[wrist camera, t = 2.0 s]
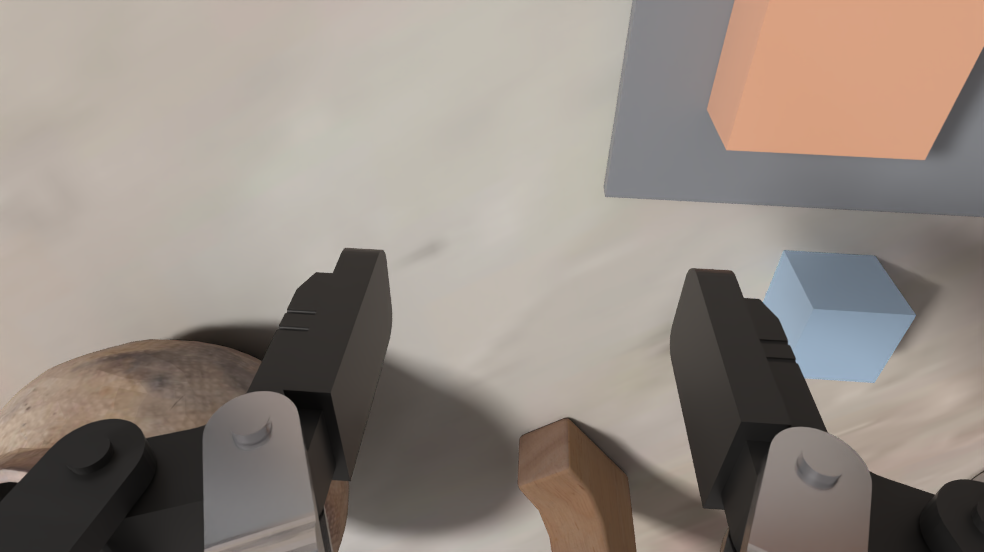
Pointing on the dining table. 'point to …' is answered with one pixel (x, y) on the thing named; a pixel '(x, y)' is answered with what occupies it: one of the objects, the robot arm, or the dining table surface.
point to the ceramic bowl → (133, 402)
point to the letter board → (763, 175)
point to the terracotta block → (843, 75)
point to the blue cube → (838, 313)
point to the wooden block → (576, 490)
